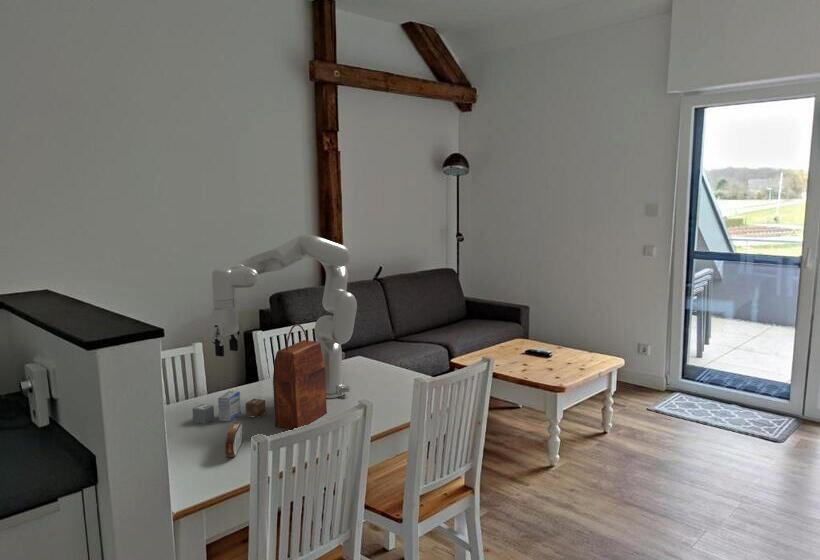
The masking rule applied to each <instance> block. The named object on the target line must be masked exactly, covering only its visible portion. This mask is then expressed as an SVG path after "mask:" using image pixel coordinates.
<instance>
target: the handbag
mask: <svg viewBox="0 0 820 560" xmlns="http://www.w3.org/2000/svg"><path fill="white" fill-rule="evenodd" d="M296 326H298V327H300V328H301V330H302V331H303V335H304V337H305V339H304V340H301V341H298V342H296V343H294V344H291V345H289V339H290V336H291V333H292V331H293V329H295V328H296ZM288 345H289V346H288ZM273 363H274V366H273V375H272V385H273V386H272V388H273V389H272V390H273V405H274V406H273V407H274V422H275V423H274V424H275V427H277V428H282V429H287V430H291V429H294V428H298V427H301V426H304V425H306V426H308V425H309V424H311V423H312V422H313V421H315V420H317V419H319V418H320V417H321V416H323V415H325V414H326V413H327V412H328V411H327V410H328V409H327V398H326V380H325V365H324V360H323V355H322V350H321V345H320V342H317V341H315V340H309V339H308V336H307V334H306V331H305V329H304V327H303V326H302V325H301V324H299V323H297V324H294V325H292V327H290V330H289V331H288V335H287V338H286V346H285V347H284V348H282V349H279V350H277V351H276V353H275V358H274V362H273ZM307 424H308V425H307Z"/></svg>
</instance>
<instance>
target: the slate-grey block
mask: <svg viewBox="0 0 820 560" xmlns="http://www.w3.org/2000/svg"><path fill="white" fill-rule="evenodd" d="M214 406H215V405H213V404H212V405H211V404H207V403H206V404H204V403H201V404H199V405H196V406H195V407H193V408H192V422H193V423H196V422H197V424H203V425H205V424H207V423H210V422H211V421H213V420H215V412H214V411H215V409H214V408H215V407H214Z"/></svg>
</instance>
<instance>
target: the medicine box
mask: <svg viewBox="0 0 820 560" xmlns="http://www.w3.org/2000/svg"><path fill="white" fill-rule="evenodd" d="M217 402H218V418H219V421H221V422H230V421H231V422H233V421H234V420H235V419H236V418H237V417H239V414H240V415H241V413H242V409H241V407H242V406H241V392H240V391H239V390H229V391H227V392H226V393H224V394H221V396H219V397H218V398H217ZM234 418H235V419H234Z"/></svg>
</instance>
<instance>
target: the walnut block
mask: <svg viewBox="0 0 820 560" xmlns="http://www.w3.org/2000/svg"><path fill="white" fill-rule="evenodd" d="M266 405H267V404H266V400H265V399H259V398H252V399H250V400H249V401H247V402H245V416H246V415H247V416H246V417H249V416H254V417H253V418H256V417H258V418H260V417H262V416H263V415H265V414H267V407H266ZM264 413H265V414H264ZM262 414H263V415H262ZM261 415H262V416H261ZM259 416H260V417H259Z"/></svg>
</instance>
